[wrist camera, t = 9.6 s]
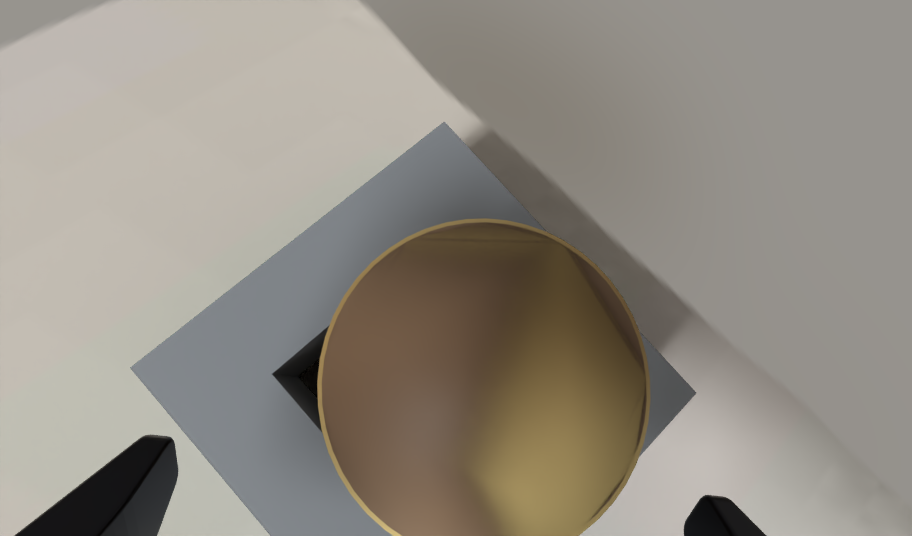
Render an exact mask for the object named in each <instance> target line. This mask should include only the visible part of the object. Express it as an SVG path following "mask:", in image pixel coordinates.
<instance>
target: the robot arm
mask: <svg viewBox="0 0 912 536" xmlns="http://www.w3.org/2000/svg"><path fill="white" fill-rule="evenodd" d="M177 477H178V464H177V457H176V450H175V443H174V440H173V439H172V438H171V437H168V436H158V435H145V436H143V437H141V438H140V439H138V440H137V441H136V442H134V443H133V444H132V445H131V446H129V447H128V448H127V449H125V450H124V451H123V452H122V453H120V454H119V455H118V456H116V457H115V458H114V459H113V460H111V461H110V462H109V463H107V464H106V465H105V466H104V467H102V468H101V469H100V470H98V471H97V472H96V473H95V474H93V475H92V476H91V477H89V478H88V479H87V480H85V481H84V482H83V483H82V484H80V485H79V486H78V487H76V488H75V489H74V490H73V491H71V492H70V493H69V494H67V495H66V496H65V497H64V498H62V499H61V500H60V501H58V502H57V503H56V504H55V505H53V506H52V507H51V508H49V509H48V510H47V511H46V512H44V513H43V514H42V515H40V516H39V517H38V518H37V519H35V520H34V521H33V522H31V523H30V524H29V525H27V526H26V527H25V528H24V529H22V530H21V531H20V532H18V533H17V534H16V535H15V536H157V534H158V532H159V529H160V526H161V523H162V521H163V518H164V515H165V512H166V510H167V507H168V504H169V501H170V499H171V496H172V493H173V491H174V488H175V485H176V482H177ZM684 536H766V535H765V534H764V533H763V532H762V531H761V530H760V529H759V528H758V527H757V526H756V525H755V524H754V523H753V522H752V521H751V520H750V519H749V518H748V517H747V516H746V515H745V514H744V513H743V512H742V511H741V510H740V509H739V508H738V507H737V506H736V505H735V504H734V503H733V502H732V501H731V500H730V499H728V498H726V497H721V496H712V495H705V496H703V497H702V498H701V499H700V500H699V501H698V503H697V504H696V506H695V507H694V509H693V510H692V512H691V513H690V515H689V516H688V518H687V519H686V521H685V525H684Z"/></svg>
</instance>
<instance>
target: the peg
mask: <svg viewBox="0 0 912 536" xmlns="http://www.w3.org/2000/svg"><path fill="white" fill-rule="evenodd" d="M317 390H318V410H319V416H320V423H321V429H322V433H323V436H324V439H325V443H326V446H327V449H328V453H329V455H330V457H331V459H332V462H333V464H334V466H335V468H336V470H337V473H338V475H339V476H340V478H341V480H342V481H343V483H344V484H345V486H346V488H347V489H348V491H349V492H350V494H351V495H352V497H353V498H354V499H355V500H356V501H357V503H358V504H359V505H360V506H361V507H362V509H363V510H364V511H365V512H366V513H367V514H368V515H369V516H370V517H371V518H372V519H373V520H374V521H375V522H376V523H378V524H379V525H380V526H381V527H382V528H383V529H384V530H386V531H387V532H389V533H390V534H392V535H393V536H579V535H580V534H581V533H583V532H584V531H585V530H586V529H587V528H589V527H590V526H591V525H592V524H593V523H595V522H596V521H597V520H598V519H599V518H600V517H601V516H602V515H603V513H604V512H605V511H606V510H607V509H608V508H609V507H610V506H611V505H612V504H613V502H614V501H615V499H616V498H617V497H618V495H619V494H620V492H621V491H622V489H623V488H624V486H625V485H626V483H627V481H628V479H629V477H630V475H631V473H632V471H633V469H634V468H635V466H636V463H637V460H638V458H639V455H640V452H641V449H642V447H643V444H644V439H645V435H646V430H647V426H648V421H649V410H650V375H649V369H648V362H647V356H646V352H645V348H644V345H643V341H642V337H641V335H640V332H639V330H638V327H637V325H636V322H635V320H634V317H633V315H632V313H631V312H630V310H629V308H628V306H627V304H626V302H625V301H624V299H623V297H622V296H621V294H620V293H619V292H618V290H617V289H616V287H615V286H614V285H613V283H612V282H611V281H610V279H609V278H608V277H607V276H606V275H605V274H604V273H603V272H602V271H601V270H600V269H599V267H598V266H597V265H596V264H594V263H593V262H592V261H591V260H590V259H589V258H587V257H586V256H585V255H584V254H583V253H582V252H580V251H579V250H577V249H576V248H574V247H573V246H571V245H570V244H568V243H567V242H565V241H564V240H562V239H560V238H558V237H556V236H554V235H552V234H550V233H548V232H546V231H543V230H540V229H537V228H535V227H532V226H529V225H526V224H521V223H517V222H512V221H508V220H498V219H487V218H484V219H464V220H458V221H452V222H446V223H442V224H439V225H436V226H432V227H429V228H426V229H424V230H421V231H419V232H417V233H415V234H412V235H410V236H408V237H406V238H404V239H403V240H401V241H400V242H398V243H396V244H395V245H393V246H391V247H390V248H388V249H387V250H386V251H385V252H383V253H382V254H381V255H380V256H379V257H377V258H376V259H375V260H374V261H372V262H371V263H370V264H369V266H368V267H367V268H366V269H365V270H364V271H363V272H362V273H361V274H360V275H359V276H358V277H357V278H356V280H355V281H354V283H353V284H352V285H351V287H350V288H349V289H348V291H347V292H346V294H345V295H344V297H343V298H342V300H341V302H340V304H339V306H338V308H337V310H336V311H335V313H334V315H333V318H332V320H331V323H330V325H329V328H328V331H327V333H326V336H325V340H324V344H323V348H322V352H321V356H320V362H319V371H318V381H317Z"/></svg>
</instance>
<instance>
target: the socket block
mask: <svg viewBox="0 0 912 536" xmlns="http://www.w3.org/2000/svg"><path fill="white" fill-rule="evenodd" d="M484 218H487V219H498V220H508V221H512V222H517V223H521V224H526V225H529V226H532V227H535V228H537V229H540V230H543V231H546V230H545V229H544V228H543V227H542V226H541V225H540V224H539V223H538V222H537V221H536V220H535V219H534V218H533V216H532V215H531V214H530V213H529V212H528V211H527V210H526V209H525V208H524V207H523V206H522V205H521V204H520V202H519V201H518V200H517V199H516V198H515V197H514V196H513V195H512V194H511V193H510V192H509V191H508V190H507V188H506V187H505V186H504V185H503V184H502V183H501V182H500V181H499V180H498V179H497V178H496V177H495V176H494V174H493V173H492V172H491V171H490V170H489V169H488V168H487V167H486V166H485V165H484V164H483V163H482V162H481V161H480V159H479V158H478V157H477V156H476V155H475V154H474V153H473V152H472V151H471V150H470V149H469V148H468V147H467V145H466V144H465V143H464V142H463V141H462V140H461V139H460V138H459V137H458V136H457V135H456V134H455V133H454V131H453V130H452V129H451V128H450V127H449V126H448V125H447V124H446V123H445V122H443V123H442V124H441V125H439V126H438V127H437V128H436V129H434V130H433V131H432V132H430V133H429V134H428V135H427V136H425V137H424V138H423V139H421V140H420V141H419V142H418V143H416V144H415V145H414V146H413V147H411V148H410V149H409V150H407V151H406V152H405V153H404V154H402V155H401V156H400V157H398V158H397V159H396V160H395V161H393V162H392V163H391V164H390V165H388V166H387V167H386V168H384V169H383V170H382V171H381V172H379V173H378V174H377V175H376V176H374V177H373V178H372V179H370V180H369V181H368V182H367V183H365V184H364V185H363V186H361V187H360V188H359V189H358V190H356V191H355V192H354V193H353V194H351V195H350V196H349V197H347V198H346V199H345V200H344V201H342V202H341V203H340V204H339V205H337V206H336V207H335V208H333V209H332V210H331V211H330V212H328V213H327V214H326V215H324V216H323V217H322V218H321V219H319V220H318V221H317V222H316V223H314V224H313V225H312V226H310V227H309V228H308V229H307V230H305V231H304V232H303V233H301V234H300V235H299V236H298V237H296V238H295V239H294V240H293V241H291V242H290V243H289V244H287V245H286V246H285V247H284V248H282V249H281V250H280V251H279V252H277V253H276V254H275V255H273V256H272V257H271V258H270V259H268V260H267V261H266V262H264V263H263V264H262V265H261V266H259V267H258V268H257V269H256V270H254V271H253V272H252V273H250V274H249V275H248V276H247V277H245V278H244V279H243V280H242V281H240V282H239V283H238V284H236V285H235V286H234V287H233V288H231V289H230V290H229V291H227V292H226V293H225V294H224V295H222V296H221V297H220V298H219V299H217V300H216V301H215V302H213V303H212V304H211V305H210V306H208V307H207V308H206V309H204V310H203V311H202V312H201V313H199V314H198V315H197V316H196V317H194V318H193V319H192V320H190V321H189V322H188V323H187V324H185V325H184V326H183V327H182V328H180V329H179V330H178V331H176V332H175V333H174V334H173V335H171V336H170V337H169V338H167V339H166V340H165V341H164V342H162V343H161V344H160V345H159V346H157V347H156V348H155V349H153V350H152V351H151V352H150V353H148V354H147V355H146V356H144V357H143V358H142V359H141V360H139V361H138V362H137V363H136V364H134V365H133V366H132V367H130V368H131V370H132V371H133V372H134V373H135V374H136V376H137V377H138V378H139V379H140V380H141V381H142V383H143V384H144V385H145V386H146V387H147V389H148V390H149V391H150V392H151V393H152V395H153V396H154V397H155V398H156V399H157V401H158V402H159V403H160V404H161V405H162V407H163V408H164V409H165V410H166V411H167V413H168V414H169V415H170V416H171V417H172V419H173V420H174V421H175V422H176V423H177V425H178V426H179V427H180V428H181V429H182V430H183V432H184V433H185V434H186V435H187V436H188V438H189V439H190V440H191V441H192V442H193V444H194V445H195V446H196V447H197V448H198V450H199V451H200V452H201V453H202V454H203V456H204V457H205V458H206V459H207V460H208V462H209V463H210V464H211V465H212V466H213V468H214V469H215V470H216V471H217V472H218V473H219V475H220V476H221V477H222V478H223V479H224V481H225V482H226V483H227V484H228V485H229V487H230V488H231V489H232V490H233V491H234V493H235V494H236V495H237V496H238V497H239V499H240V500H241V501H242V502H243V503H244V505H245V506H246V507H247V508H248V509H249V511H250V512H251V513H252V514H253V515H254V517H255V518H256V519H257V520H258V521H259V522H260V524H261V525H262V526H263V527H264V528H265V530H266V531H267V532H268V533H269V534H270V536H393V535H392V534H390V533H389V532H387V531H386V530H384V529H383V528H382V527H381V526H380V525H379V524H378V523H376V522H375V521H374V520H373V519H372V518H371V517H370V516H369V515H368V514H367V513H366V512H365V511H364V510H363V509H362V507H361V506H360V505H359V504H358V503H357V501H356V500H355V499H354V498H353V497H352V495H351V494H350V492H349V491H348V489H347V488H346V486H345V484H344V483H343V481H342V480H341V478H340V476H339V475H338V473H337V470H336V468H335V466H334V464H333V462H332V459H331V457H330V455H329V453H328V449H327V446H326V443H325V439H324V436H323V433H322V429H321V423H320V416H319V410H318V399H317V398H316V397H315V396H314V395H313V393H312V392H311V391H310V390H309V389H308V388H307V386H306V385H305V384H304V383H303V382H302V381H301V380H300V378H299V377H298V376H299V375H300V374H301V373H302V372H304V371H305V370H306V369H307V368H308V367H309V366H311V365H312V364H313V363H314V362H315V361H316V360H318V359H319V358H320V356H321V352H322V348H323V344H324V340H325V336H326V333H327V331H328V328H329V325H330V323H331V320H332V318H333V315H334V313H335V311H336V310H337V308H338V306H339V304H340V302H341V300H342V298H343V297H344V295H345V294H346V292H347V291H348V289H349V288H350V287H351V285H352V284H353V283H354V281H355V280H356V278H357V277H358V276H359V275H360V274H361V273H362V272H363V271H364V270H365V269H366V268H367V267H368V266H369V264H370V263H371V262H372V261H374V260H375V259H376V258H377V257H379V256H380V255H381V254H382V253H383V252H385V251H386V250H387V249H388V248H390V247H391V246H393V245H395V244H396V243H398V242H400V241H401V240H403V239H404V238H406V237H408V236H410V235H412V234H415V233H417V232H419V231H421V230H424V229H426V228H429V227H432V226H436V225H439V224H442V223H446V222H452V221H458V220H464V219H484ZM640 335H641V337H642V341H643V345H644V348H645V352H646V356H647V362H648V369H649V375H650V410H649V421H648V426H647V430H646V435H645V439H644V444H643V447H642V449H641V452H640V455H641V454H642V453H643V452H644V451H645V450H646V449H647V448H648V446H649V445H650V444H651V443H652V442H653V441H654V440H655V439H656V437H657V436H658V435H659V434H660V433H661V432H662V431H663V430H664V429H665V427H666V426H667V425H668V424H669V423H670V422H671V421H672V420H673V419H674V417H675V416H676V415H677V414H678V413H679V412H680V411H681V410H682V408H683V407H684V406H685V405H686V404H687V403H688V402H689V401H690V400H691V398H692V397H693V396H694V395H695V394H696V392H695V391H694V390H693V389H692V388H691V386H690V385H689V384H688V383H687V382H686V381H685V380H684V379H683V378H682V377H681V376H680V375H679V374H678V372H677V371H676V370H675V369H674V368H673V367H672V366H671V365H670V364H669V363H668V362H667V361H666V360H665V358H664V357H663V356H662V355H661V354H660V353H659V352H658V351H657V350H656V349H655V348H654V347H653V346H652V344H651V343H650V342H649V341H648V340H647V339H646V338H645V337H644V336H643V335H642V334H641V333H640ZM640 455H639V456H640Z"/></svg>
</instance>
